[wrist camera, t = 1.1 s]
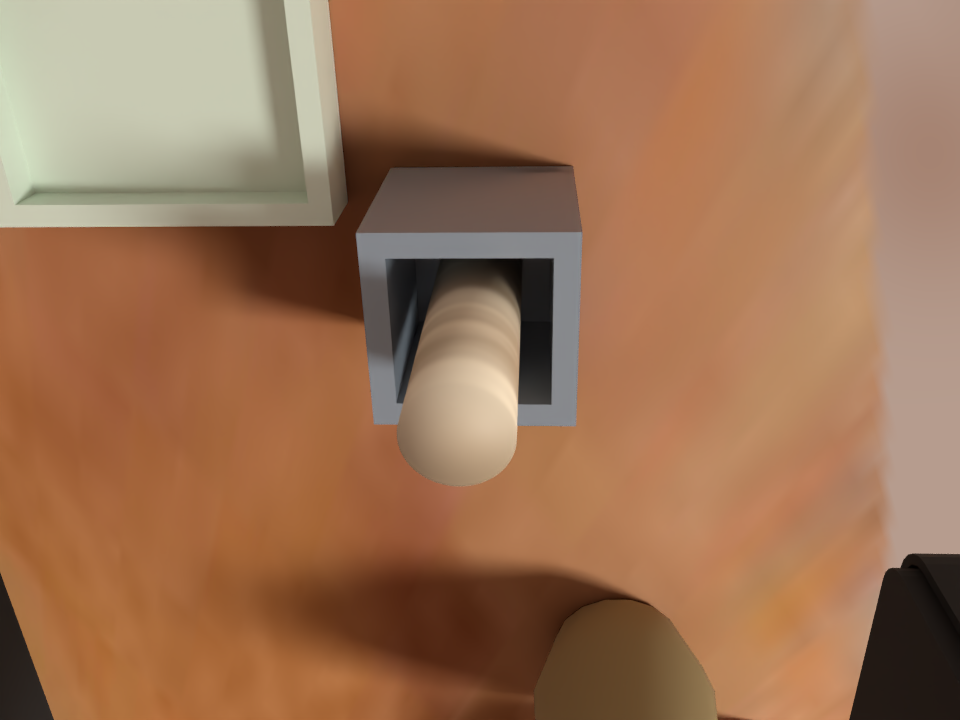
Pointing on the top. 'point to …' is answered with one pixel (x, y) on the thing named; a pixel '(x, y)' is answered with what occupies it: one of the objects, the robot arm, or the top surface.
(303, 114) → the tray
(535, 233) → the holder
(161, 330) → the top surface
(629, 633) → the squeeze bottle
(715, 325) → the top surface
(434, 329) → the dowel
